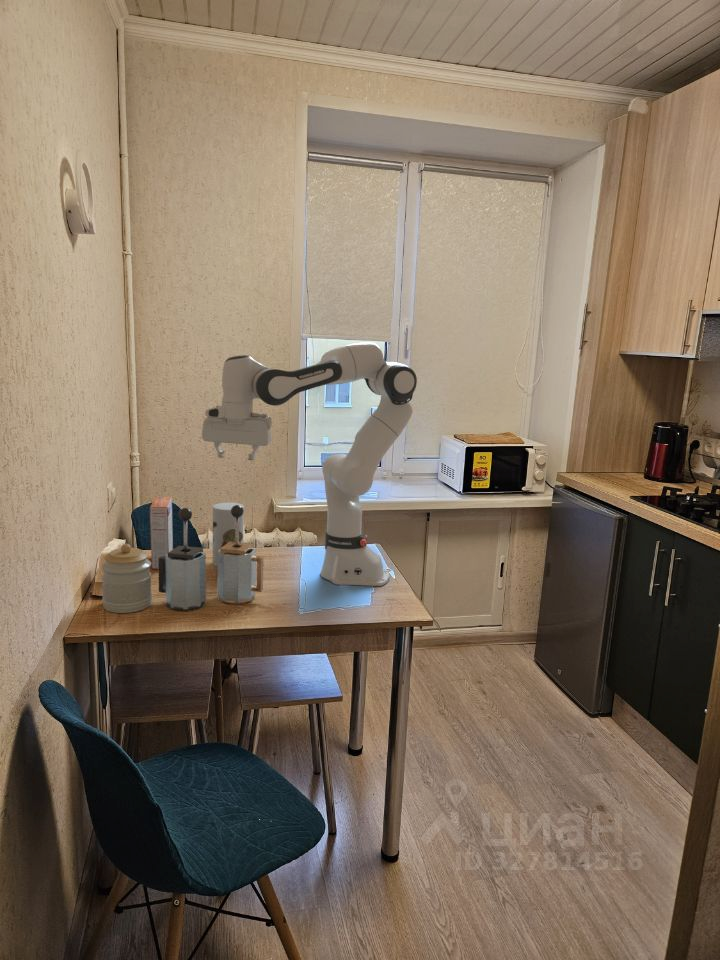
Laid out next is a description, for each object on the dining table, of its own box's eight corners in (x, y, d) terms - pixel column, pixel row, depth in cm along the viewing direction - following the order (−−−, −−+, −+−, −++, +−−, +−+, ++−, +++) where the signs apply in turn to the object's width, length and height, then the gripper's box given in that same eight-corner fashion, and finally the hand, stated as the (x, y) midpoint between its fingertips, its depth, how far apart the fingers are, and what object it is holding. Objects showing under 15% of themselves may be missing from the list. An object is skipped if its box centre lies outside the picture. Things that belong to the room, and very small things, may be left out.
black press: (210, 598, 191) (210, 546, 188) (196, 612, 181) (195, 557, 178) (168, 594, 193) (168, 542, 190) (152, 607, 183) (151, 553, 180)
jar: (158, 597, 190) (157, 538, 187) (142, 615, 178) (141, 552, 174) (113, 595, 191) (111, 536, 187) (94, 612, 178) (92, 549, 174)
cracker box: (155, 555, 226) (154, 496, 222) (173, 555, 227) (172, 496, 223) (150, 569, 213) (149, 506, 209) (169, 569, 214) (168, 506, 210)
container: (211, 559, 225) (211, 502, 221) (240, 558, 228) (241, 501, 224) (214, 569, 216) (214, 509, 212) (244, 567, 219) (245, 508, 215)
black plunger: (204, 564, 188) (203, 506, 184) (193, 573, 180) (192, 512, 177) (178, 562, 189) (178, 503, 185) (166, 570, 181) (166, 510, 178)
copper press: (266, 594, 197) (267, 543, 193) (255, 607, 186) (256, 554, 183) (225, 589, 198) (226, 539, 195) (212, 602, 188) (212, 549, 185)
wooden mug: (217, 586, 201) (217, 529, 197) (216, 571, 214) (216, 517, 210) (247, 585, 203) (247, 528, 199) (244, 570, 216) (245, 517, 212)
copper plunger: (253, 560, 194) (254, 503, 190) (245, 568, 186) (245, 509, 183) (228, 557, 195) (229, 501, 191) (219, 565, 187) (219, 507, 184)
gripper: (274, 413, 194) (273, 459, 196) (208, 408, 197) (208, 454, 200) (268, 415, 188) (266, 463, 190) (200, 410, 191) (199, 457, 194)
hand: (236, 458), depth 195 cm, fingers open, 8 cm apart
